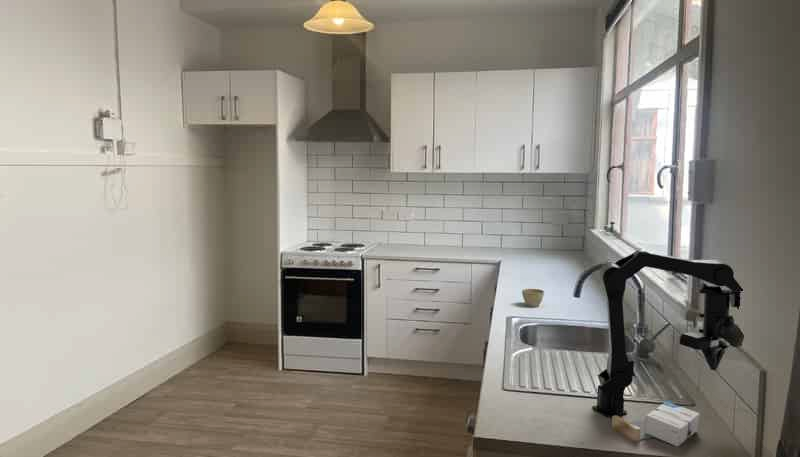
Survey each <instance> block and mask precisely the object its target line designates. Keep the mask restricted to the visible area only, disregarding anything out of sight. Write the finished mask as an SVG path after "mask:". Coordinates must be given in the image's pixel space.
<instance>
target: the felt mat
mask: <svg viewBox="0 0 800 457" xmlns="http://www.w3.org/2000/svg"><path fill="white" fill-rule="evenodd" d="M645 419H646V418H645ZM645 419H640V420H636V421H632V422H630V421H629V422H630V423H631V424H633V425H635V426H637V427H639V428H641V431H640V441H643V440H649V439H652V438H655V437H654V436H651V435H649V434H646V433H644V429H645Z"/></svg>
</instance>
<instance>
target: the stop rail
mask: <svg viewBox="0 0 800 457" xmlns="http://www.w3.org/2000/svg"><path fill="white" fill-rule="evenodd" d="M611 418H612V422H611V428H612V429H614V430H615V431H617V432H619V433H621V434H622V435H624V436H625V437H628V438H630V439H631V440H633V441H635V442H639V441H641V440H640V431H641V428H639V427H637V426H635V425H633V424H631V423H630V421H628V420H625V419H624V418H622V417H620V416H619V415H616V416H612V417H611Z"/></svg>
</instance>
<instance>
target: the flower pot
mask: <svg viewBox="0 0 800 457" xmlns="http://www.w3.org/2000/svg"><path fill="white" fill-rule="evenodd" d="M521 294H522V298H523V300H524V303H525V305H526V306H527V307H529V308H537V307H539V306H540V304H541V303H542V301H543V297H544V296H545V295H544V294H545V291H544V290H542V289H539V288H524V289H522V290H521Z"/></svg>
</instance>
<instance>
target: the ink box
mask: <svg viewBox="0 0 800 457" xmlns="http://www.w3.org/2000/svg"><path fill="white" fill-rule="evenodd" d="M700 414H701V413H699V412H697V411H694V410H692V409H690V408H689V409H688V408H686V407H683V406H680V405H676V404H674V403H671V402H668V401H665V402H663V403H661V405H658V406H657V407H656V408H655V409H653V410H651V412H649V413H647V414H646V415H645V429H644V433H646V434H649V435H651V436H654V437H653V438H656V439H659V440H660V441H663V442H665V443H669V444H670V445H673V446H675V447H679V446H681V445H682V444H683V443H684V442H685V441H687V440H688V439H689V438H690V437H692V436H693V435H694V434H695V433H696V432H697V431H698V427H699V422H700V421H699V420H700Z"/></svg>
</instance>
